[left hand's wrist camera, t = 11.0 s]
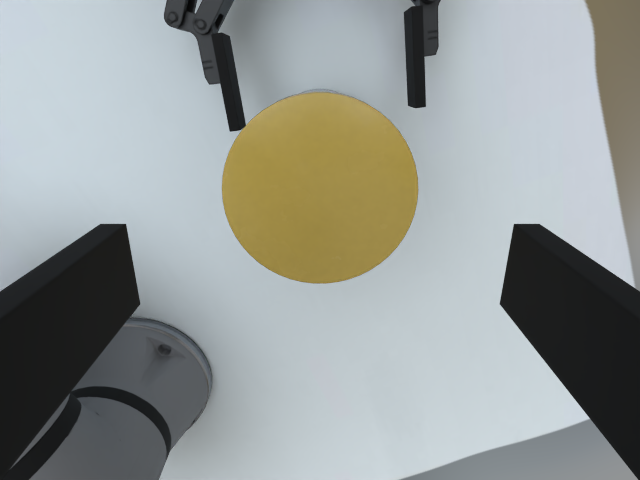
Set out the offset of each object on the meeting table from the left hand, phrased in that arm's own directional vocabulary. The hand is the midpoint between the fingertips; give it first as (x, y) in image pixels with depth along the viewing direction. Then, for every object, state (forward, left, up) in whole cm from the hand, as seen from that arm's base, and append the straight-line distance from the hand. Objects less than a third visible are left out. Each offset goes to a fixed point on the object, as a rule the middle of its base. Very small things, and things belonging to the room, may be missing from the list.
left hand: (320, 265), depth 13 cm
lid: (0, 0, -8) cm, 8 cm away
